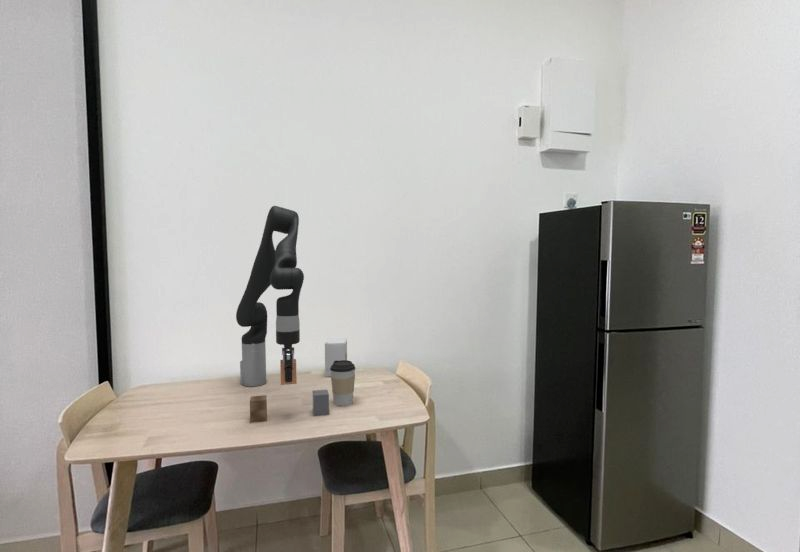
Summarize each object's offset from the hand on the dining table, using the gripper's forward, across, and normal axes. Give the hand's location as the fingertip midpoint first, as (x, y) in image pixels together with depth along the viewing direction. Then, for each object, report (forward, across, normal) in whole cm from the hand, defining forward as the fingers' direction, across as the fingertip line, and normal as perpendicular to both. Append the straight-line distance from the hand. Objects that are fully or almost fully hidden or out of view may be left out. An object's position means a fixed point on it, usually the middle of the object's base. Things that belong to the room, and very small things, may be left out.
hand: (288, 379), depth 143 cm
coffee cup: (+13, +7, -19) cm, 24 cm away
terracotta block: (+1, 0, 0) cm, 1 cm away
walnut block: (+13, 0, +10) cm, 16 cm away
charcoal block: (+12, 0, -10) cm, 16 cm away
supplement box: (+13, +42, -21) cm, 49 cm away
